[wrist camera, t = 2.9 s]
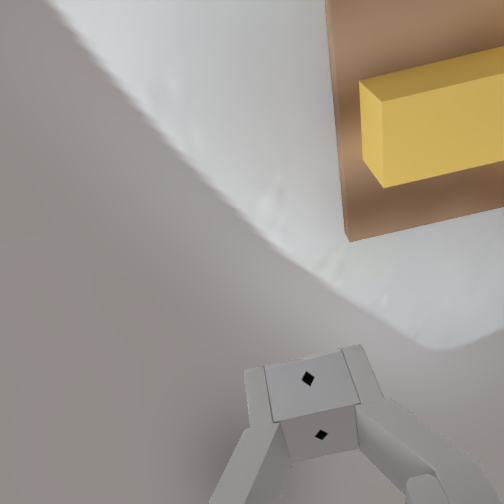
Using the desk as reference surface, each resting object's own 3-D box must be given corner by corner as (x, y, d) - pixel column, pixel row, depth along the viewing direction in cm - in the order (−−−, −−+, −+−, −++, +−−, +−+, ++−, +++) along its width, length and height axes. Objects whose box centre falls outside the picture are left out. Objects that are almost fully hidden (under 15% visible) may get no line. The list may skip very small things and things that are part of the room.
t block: (353, -21, 18) (379, -12, 15) (654, -95, 17) (729, -98, 15) (366, 224, 25) (385, 256, 23) (578, 175, 25) (620, 202, 22)
